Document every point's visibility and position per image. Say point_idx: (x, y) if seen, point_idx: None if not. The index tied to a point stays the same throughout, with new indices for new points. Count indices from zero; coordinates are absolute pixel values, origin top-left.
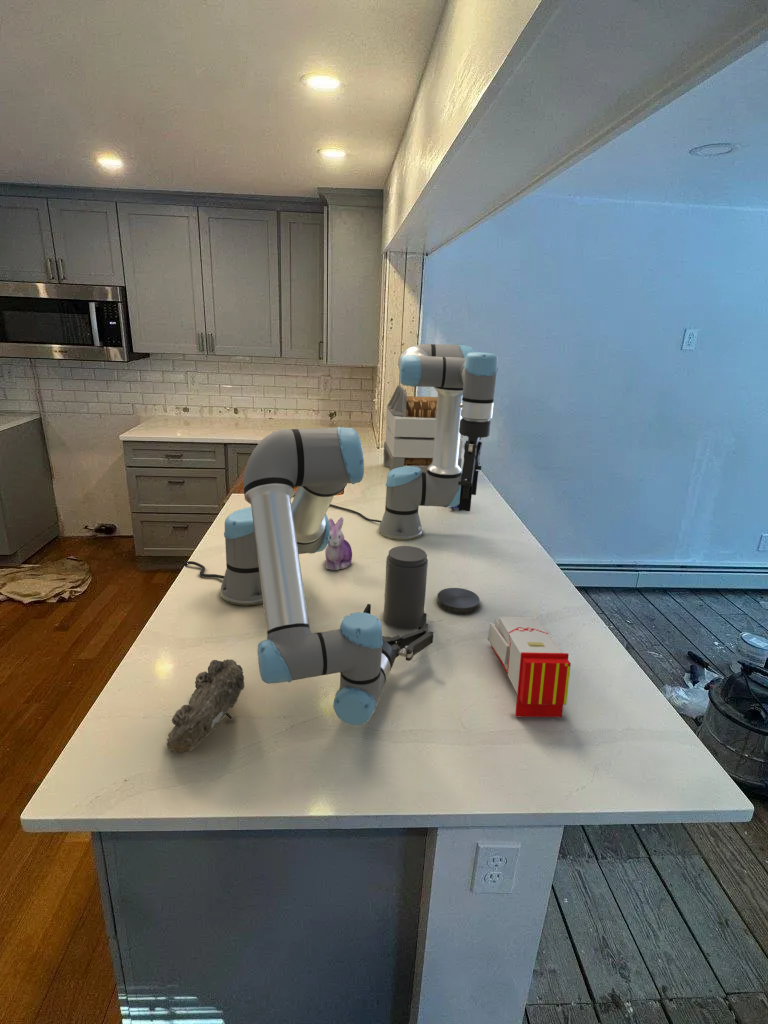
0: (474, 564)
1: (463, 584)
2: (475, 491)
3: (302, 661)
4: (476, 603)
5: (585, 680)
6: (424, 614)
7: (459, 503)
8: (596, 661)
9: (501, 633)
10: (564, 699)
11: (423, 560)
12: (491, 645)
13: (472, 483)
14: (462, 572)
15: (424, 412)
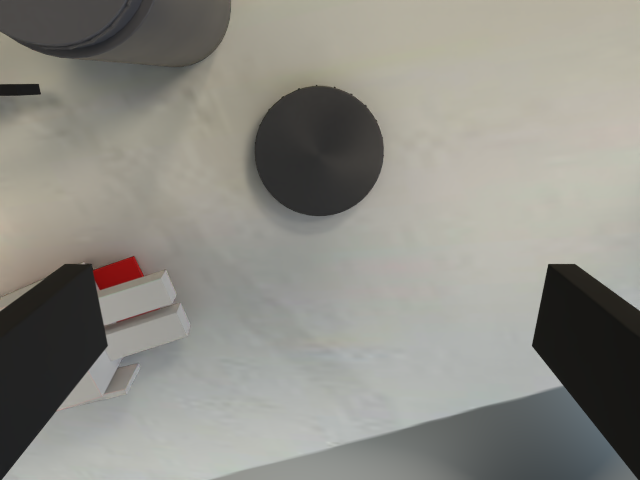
0: (607, 168)
1: (449, 151)
2: (548, 362)
3: None
4: (300, 209)
5: (106, 419)
6: (7, 89)
7: (25, 293)
8: (180, 439)
9: None
10: None
11: (18, 40)
12: (130, 257)
13: None
14: (537, 137)
15: None
